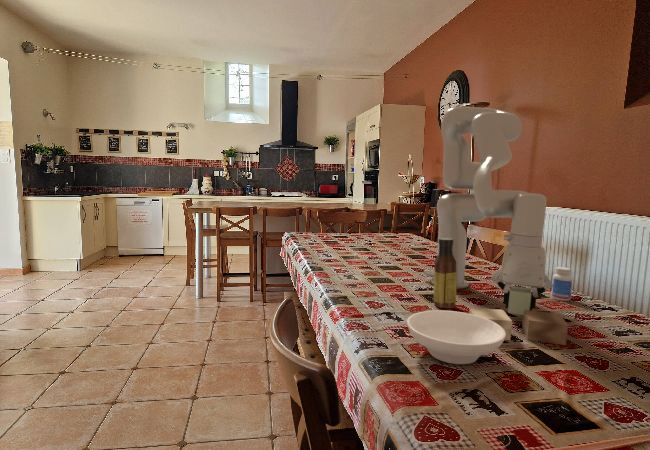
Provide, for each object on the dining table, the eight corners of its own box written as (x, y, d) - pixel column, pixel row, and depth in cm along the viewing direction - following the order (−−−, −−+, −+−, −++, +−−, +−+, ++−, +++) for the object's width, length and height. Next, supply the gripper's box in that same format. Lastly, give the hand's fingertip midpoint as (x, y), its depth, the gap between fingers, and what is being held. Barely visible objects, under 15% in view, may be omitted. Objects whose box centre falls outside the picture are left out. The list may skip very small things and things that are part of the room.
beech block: (474, 338, 97) (475, 318, 97) (468, 326, 105) (469, 307, 104) (510, 341, 96) (512, 320, 95) (501, 329, 104) (502, 309, 103)
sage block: (507, 312, 109) (510, 290, 108) (508, 306, 113) (510, 285, 112) (528, 316, 107) (531, 293, 106) (528, 310, 111) (530, 288, 110)
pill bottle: (573, 301, 127) (576, 270, 126) (554, 300, 128) (557, 269, 127) (566, 296, 133) (569, 267, 132) (548, 295, 134) (551, 265, 133)
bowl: (446, 388, 74) (448, 351, 73) (387, 345, 92) (389, 315, 91) (525, 369, 82) (528, 336, 81) (457, 333, 99) (459, 306, 99)
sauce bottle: (455, 304, 122) (460, 237, 120) (455, 310, 116) (459, 241, 114) (433, 301, 124) (436, 236, 122) (431, 307, 118) (435, 239, 116)
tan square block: (527, 340, 97) (529, 320, 96) (522, 328, 104) (523, 309, 104) (565, 346, 94) (567, 324, 94) (557, 333, 102) (559, 313, 101)
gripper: (489, 239, 107) (483, 307, 110) (564, 247, 100) (556, 319, 103) (491, 235, 114) (485, 299, 117) (561, 242, 107) (553, 309, 110)
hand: (518, 307), depth 110 cm, fingers closed on sage block, 5 cm apart
